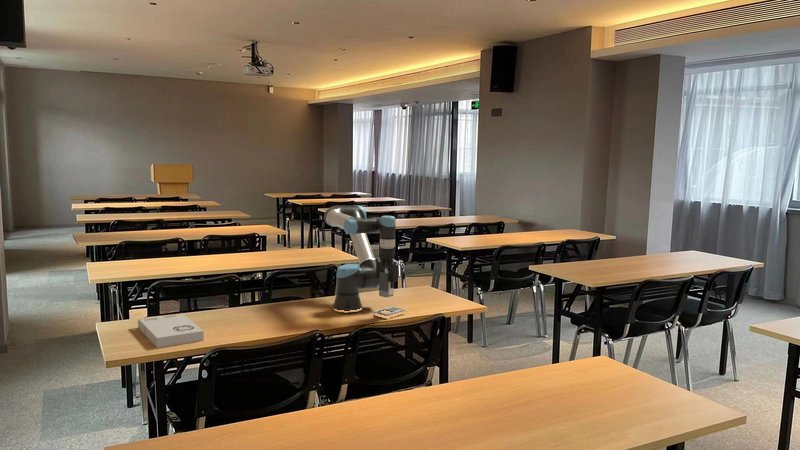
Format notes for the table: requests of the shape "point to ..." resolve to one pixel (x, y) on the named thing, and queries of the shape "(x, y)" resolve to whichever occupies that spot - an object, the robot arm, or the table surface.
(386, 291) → the charger
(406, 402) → the table surface
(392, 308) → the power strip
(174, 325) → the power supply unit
